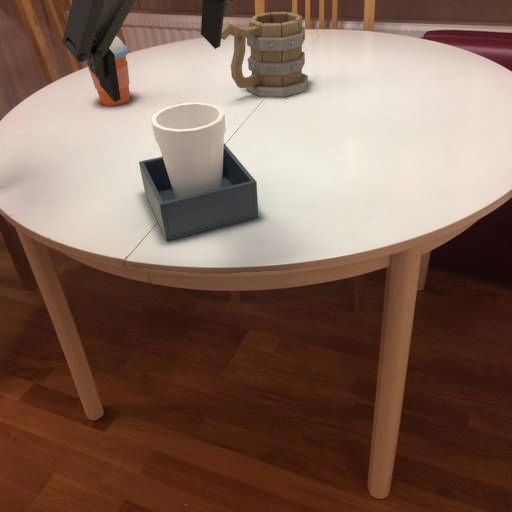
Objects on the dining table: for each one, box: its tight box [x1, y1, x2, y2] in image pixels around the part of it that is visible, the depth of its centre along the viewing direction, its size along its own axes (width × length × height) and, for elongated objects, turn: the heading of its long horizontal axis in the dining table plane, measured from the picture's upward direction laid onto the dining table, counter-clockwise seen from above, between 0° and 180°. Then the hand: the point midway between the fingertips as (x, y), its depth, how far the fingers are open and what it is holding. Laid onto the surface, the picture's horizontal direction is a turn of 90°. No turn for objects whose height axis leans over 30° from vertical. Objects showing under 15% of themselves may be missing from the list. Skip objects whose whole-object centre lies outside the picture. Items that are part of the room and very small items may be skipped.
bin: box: [138, 142, 259, 241], centre depth 74 cm, size 13×13×6 cm
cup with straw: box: [87, 35, 131, 106], centre depth 106 cm, size 9×9×18 cm
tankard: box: [221, 11, 309, 98], centre depth 108 cm, size 20×13×15 cm, turn 123°
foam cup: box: [150, 102, 227, 199], centre depth 72 cm, size 10×9×13 cm
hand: (162, 65), depth 58 cm, fingers open, 13 cm apart
